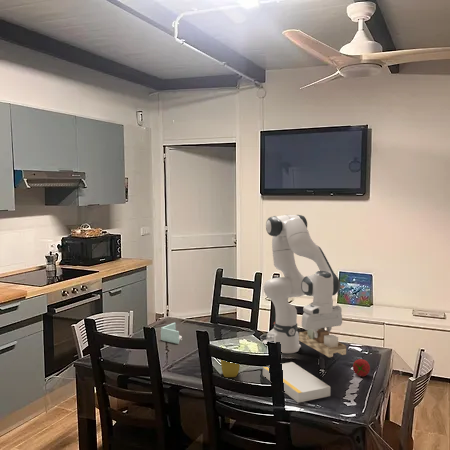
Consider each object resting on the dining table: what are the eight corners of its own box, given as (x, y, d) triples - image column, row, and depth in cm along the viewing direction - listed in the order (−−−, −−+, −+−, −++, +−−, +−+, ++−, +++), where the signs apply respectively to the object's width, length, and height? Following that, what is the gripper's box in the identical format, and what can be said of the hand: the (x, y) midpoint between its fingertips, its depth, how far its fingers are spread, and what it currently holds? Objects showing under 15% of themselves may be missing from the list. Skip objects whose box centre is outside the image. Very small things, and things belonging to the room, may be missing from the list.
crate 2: (323, 345, 221) (324, 335, 220) (331, 343, 222) (332, 334, 222) (329, 348, 217) (330, 338, 216) (337, 347, 218) (338, 337, 218)
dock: (262, 375, 229) (262, 366, 228) (292, 370, 235) (292, 361, 235) (297, 402, 201) (298, 392, 201) (330, 395, 208) (330, 386, 208)
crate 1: (307, 336, 232) (307, 327, 232) (315, 335, 234) (315, 326, 234) (312, 339, 228) (312, 330, 228) (320, 338, 230) (320, 328, 230)
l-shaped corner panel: (177, 345, 270) (177, 331, 269) (160, 340, 276) (160, 327, 276) (190, 338, 280) (190, 326, 279) (174, 335, 286) (174, 322, 286)
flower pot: (219, 371, 232) (219, 353, 231) (238, 371, 233) (238, 353, 232) (220, 379, 224) (221, 360, 223) (240, 379, 224) (240, 359, 223)
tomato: (363, 354, 233) (358, 356, 226) (375, 367, 229) (371, 369, 223) (351, 365, 235) (346, 368, 228) (363, 378, 232) (359, 381, 225)
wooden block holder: (298, 340, 235) (299, 324, 234) (314, 337, 239) (315, 322, 238) (329, 357, 213) (329, 340, 213) (346, 354, 217) (346, 337, 216)
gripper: (337, 303, 231) (336, 332, 233) (300, 307, 223) (299, 337, 224) (345, 306, 225) (344, 336, 227) (308, 311, 217) (307, 341, 219)
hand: (321, 336), depth 226 cm, fingers closed on wooden block holder, 4 cm apart
